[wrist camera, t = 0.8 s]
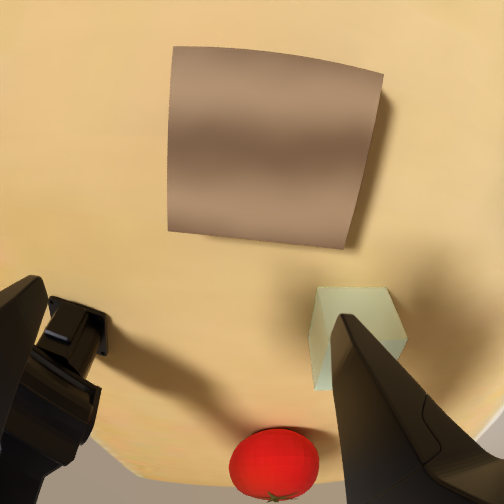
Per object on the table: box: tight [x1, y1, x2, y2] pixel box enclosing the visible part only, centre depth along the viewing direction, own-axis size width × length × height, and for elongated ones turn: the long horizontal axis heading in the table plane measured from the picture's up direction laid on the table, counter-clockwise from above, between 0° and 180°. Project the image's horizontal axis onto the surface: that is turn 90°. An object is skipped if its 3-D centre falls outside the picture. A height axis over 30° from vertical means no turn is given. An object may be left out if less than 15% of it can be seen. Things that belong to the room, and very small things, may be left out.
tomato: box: [229, 429, 319, 502], centre depth 36 cm, size 11×12×10 cm
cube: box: [308, 287, 408, 391], centre depth 25 cm, size 6×6×6 cm
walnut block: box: [167, 46, 384, 250], centre depth 18 cm, size 11×11×4 cm
